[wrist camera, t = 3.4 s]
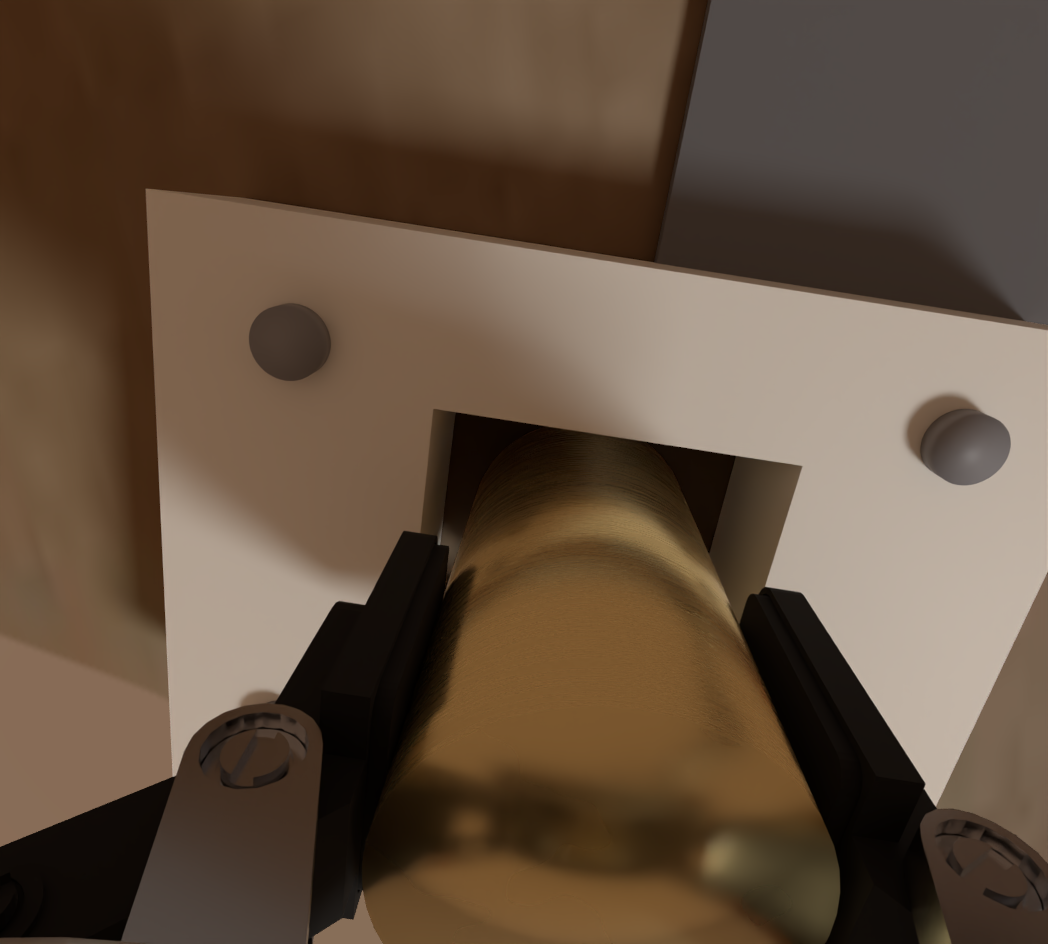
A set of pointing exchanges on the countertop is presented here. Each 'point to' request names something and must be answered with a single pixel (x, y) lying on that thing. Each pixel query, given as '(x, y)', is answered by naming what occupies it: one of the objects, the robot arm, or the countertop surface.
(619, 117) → the countertop surface
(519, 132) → the countertop surface
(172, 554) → the plate
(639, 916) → the brass domed cylinder
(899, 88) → the mat
